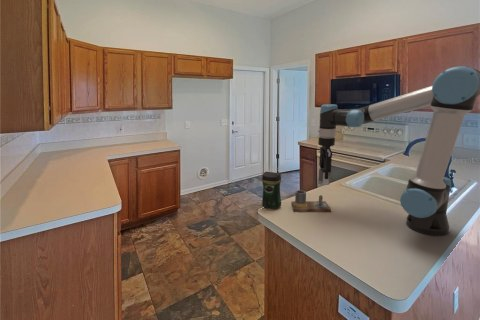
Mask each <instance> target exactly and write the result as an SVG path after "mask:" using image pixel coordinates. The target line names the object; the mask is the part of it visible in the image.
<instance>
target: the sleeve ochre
mask: <svg viewBox="0 0 480 320" xmlns="http://www.w3.org/2000/svg"><path fill="white" fill-rule="evenodd" d="M294 199H295V200H294V201H295V206H297V207H305V206H306V201H307V191H306V190H298V189H297V190H295V198H294Z"/></svg>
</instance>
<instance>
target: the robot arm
mask: <svg viewBox="0 0 480 320" xmlns="http://www.w3.org/2000/svg"><path fill="white" fill-rule="evenodd" d="M479 96H480V70H478V69H475V68H472V67H470V66H464V65H461V66H460V65H459V66H457V65H456V66H454V67H453V66H452V67H450V68H449V67H448V68H447V69H445V70H444V71H442V72H441V73H439V74H438V75H437V76H436V77H435V79H434V81H433V83H432V84H431V85H429V86H427V87H423V88H420V89H417V90H414V91H410V92H408V93H405V94H401V95H398V96H395V97H392V98H388V99H386V100H382V101H379V102H376V103H372V104H370V105H366V106H363V107H360V108H350V109H349V108H348V109H345V108H344V109H341V108H338V105H337V104H334V103H333V104H328V103H327V104H322V105H321V106H320V113H319V127H318V130H317V132H318V136H319V137H318V146H320V147H319V150H320V151H319V160H318V161H319V164H318V166H319V169H320V168H324V171H322V172H323V183H322V186H329V185H330V184H329V173H330V174H331V173H332V158H333V152H332V149H331V147H333V146H335V143H336V141H335V140H336V132H337V131H336V129H337V126H341V127H348V128H349V127H350V128H360V127H361V126H362V125H366V124H369V123H372V122H375V121H379V120H383V119H386V118H390V117H393V116H398V115H402V114H404V113H409V112H412V111H416V110H419V109H423V108H427V107H430V108H431V109H432V111H433V113H432V117H431V121H430V124H429V128H428V130H427V135H426V138H425V141H424V144H423V148H422V151H421V155H420V158H419V161H418V164H417V168H416V170H415V173H414V174H412V175H410V177H409V178H408V182H407V185H406V189H405V190H403V191H402V193H401V195H400V198H399V201H400V202H399V203H400V205H401V207H402V209H403V210H404V211H405V212H406V213H407V214H408V215H407V217H406V221H405V224H406V225H407V227H408V228H410V229H411V230H413V231H416V232H417V233H421V234H424V235H429V236H436V237H437V236H438V237H439V236H445V235H448V234H449V231H450V223H449V221H448V220H449V219H448V216H447V211H448V204H449V200H450V193H451V187H452V179H450V178H448V177H447V176H445V174H446V171H447V169H448V166H449V163H450V161H451V157H452V154H453V151H454V148H455V145H456V142H457V138H458V136H459V132H460V129H461V127H462V124H463V121H464V117H465V116H466V115H468V114H469V113H471V112H472V111H473V109H474V107H475V103H476V100H477V98H478V97H479ZM328 184H329V185H328Z"/></svg>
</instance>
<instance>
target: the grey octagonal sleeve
mask: <svg viewBox="0 0 480 320" xmlns="http://www.w3.org/2000/svg"><path fill="white" fill-rule="evenodd" d="M322 171H324V168H320V167H319V168H318V179H317V184H318V185H320V186H321V185H322V183H323V172H322ZM330 176H331V172H330V173H329V184H328V185H327V186H329V185H330V184H331V183H330V182H331V181H330V179H331V178H330ZM322 186H323V185H322Z"/></svg>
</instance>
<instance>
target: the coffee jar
mask: <svg viewBox="0 0 480 320" xmlns="http://www.w3.org/2000/svg"><path fill="white" fill-rule="evenodd" d="M261 182H262V201H261V206H262V207H263V208H265V209H271V210H277V209H280V208H281V207H282V200H281V199H282V197H281V182H282V175H281V173H280V172H272V171H265V172H263V173H262V177H261Z"/></svg>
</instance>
